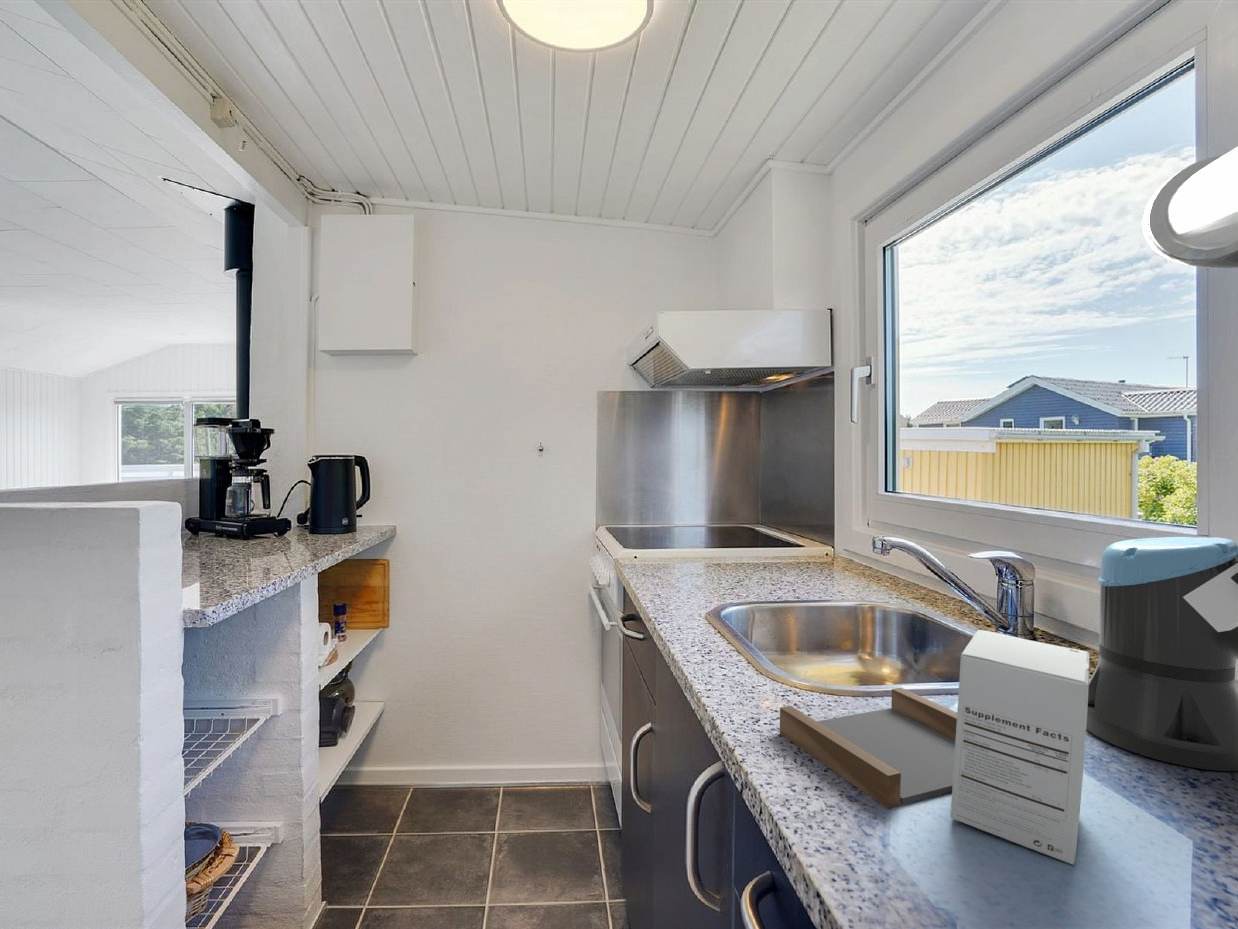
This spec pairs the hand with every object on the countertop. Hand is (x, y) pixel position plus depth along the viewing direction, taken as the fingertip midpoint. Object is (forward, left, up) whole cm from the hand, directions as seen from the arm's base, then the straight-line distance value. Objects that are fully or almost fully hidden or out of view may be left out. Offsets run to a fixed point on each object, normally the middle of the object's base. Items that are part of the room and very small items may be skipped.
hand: (1206, 613), depth 41 cm
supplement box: (0, -13, -21) cm, 25 cm away
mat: (0, -26, -22) cm, 34 cm away
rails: (0, -26, -22) cm, 34 cm away
